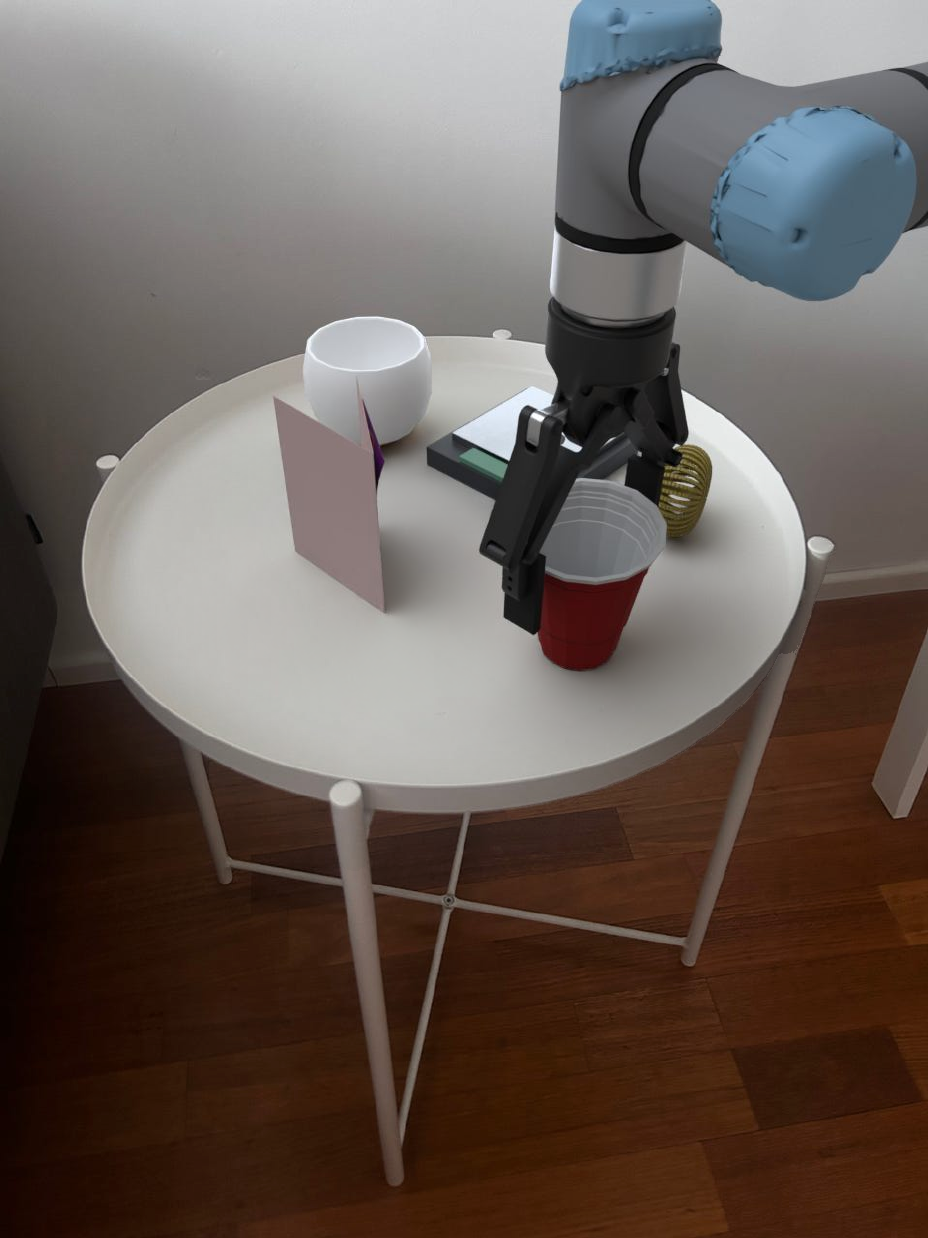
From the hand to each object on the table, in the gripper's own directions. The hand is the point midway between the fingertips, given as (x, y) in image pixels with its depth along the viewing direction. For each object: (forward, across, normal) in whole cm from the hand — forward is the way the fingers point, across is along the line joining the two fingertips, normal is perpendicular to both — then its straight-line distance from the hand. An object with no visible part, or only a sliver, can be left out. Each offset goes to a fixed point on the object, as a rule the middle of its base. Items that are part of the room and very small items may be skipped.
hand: (581, 577), depth 73 cm
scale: (+7, -18, -19) cm, 27 cm away
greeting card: (+7, +6, -20) cm, 22 cm away
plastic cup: (+7, 0, 0) cm, 7 cm away
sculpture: (+7, -18, -2) cm, 19 cm away
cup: (+7, -11, -34) cm, 36 cm away
